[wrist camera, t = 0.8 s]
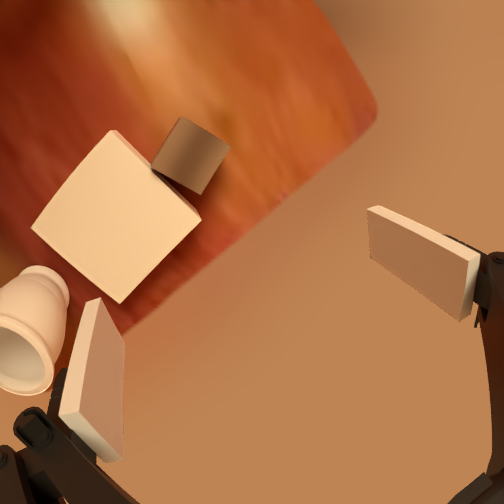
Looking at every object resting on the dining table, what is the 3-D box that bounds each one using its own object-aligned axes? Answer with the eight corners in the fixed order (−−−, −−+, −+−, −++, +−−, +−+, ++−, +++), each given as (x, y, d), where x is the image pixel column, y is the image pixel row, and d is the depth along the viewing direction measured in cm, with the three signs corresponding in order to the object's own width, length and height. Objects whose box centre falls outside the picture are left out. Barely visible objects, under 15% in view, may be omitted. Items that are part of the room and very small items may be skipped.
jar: (67, 252, 37) (32, 314, 23) (84, 321, 41) (67, 396, 27) (2, 261, 34) (-47, 319, 21) (23, 325, 38) (-9, 395, 25)
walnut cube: (152, 161, 36) (150, 167, 31) (178, 118, 35) (182, 116, 30) (194, 185, 39) (200, 195, 33) (220, 143, 38) (231, 146, 32)
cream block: (44, 215, 34) (30, 227, 30) (116, 130, 33) (110, 130, 29) (122, 285, 41) (119, 304, 36) (196, 209, 40) (201, 220, 35)
